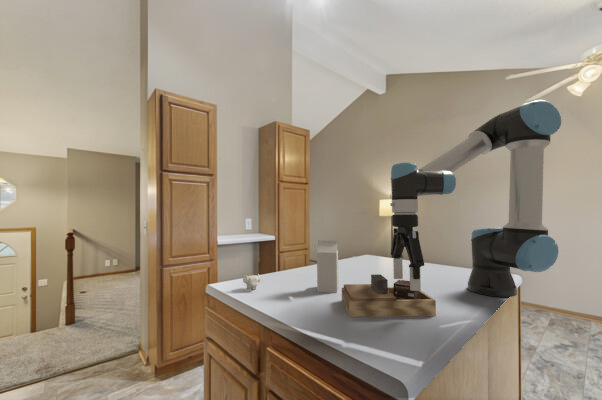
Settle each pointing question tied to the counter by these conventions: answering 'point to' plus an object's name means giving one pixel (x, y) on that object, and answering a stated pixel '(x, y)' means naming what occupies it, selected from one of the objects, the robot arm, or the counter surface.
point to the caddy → (390, 306)
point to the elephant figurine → (251, 281)
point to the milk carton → (327, 266)
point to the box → (404, 291)
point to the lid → (370, 290)
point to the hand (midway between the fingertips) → (406, 284)
